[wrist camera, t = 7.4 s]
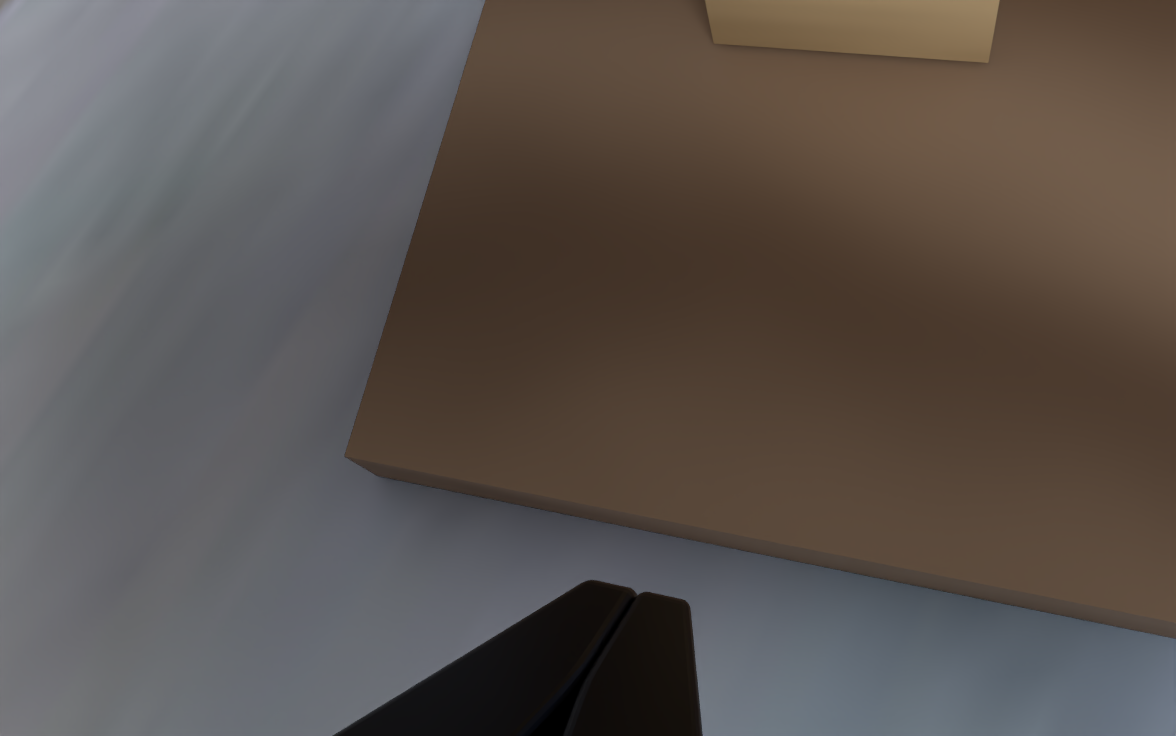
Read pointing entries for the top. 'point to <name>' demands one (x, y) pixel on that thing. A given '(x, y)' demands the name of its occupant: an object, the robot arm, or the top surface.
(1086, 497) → the walnut sill
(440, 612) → the top surface
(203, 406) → the top surface
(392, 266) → the top surface
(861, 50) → the pale yellow box
